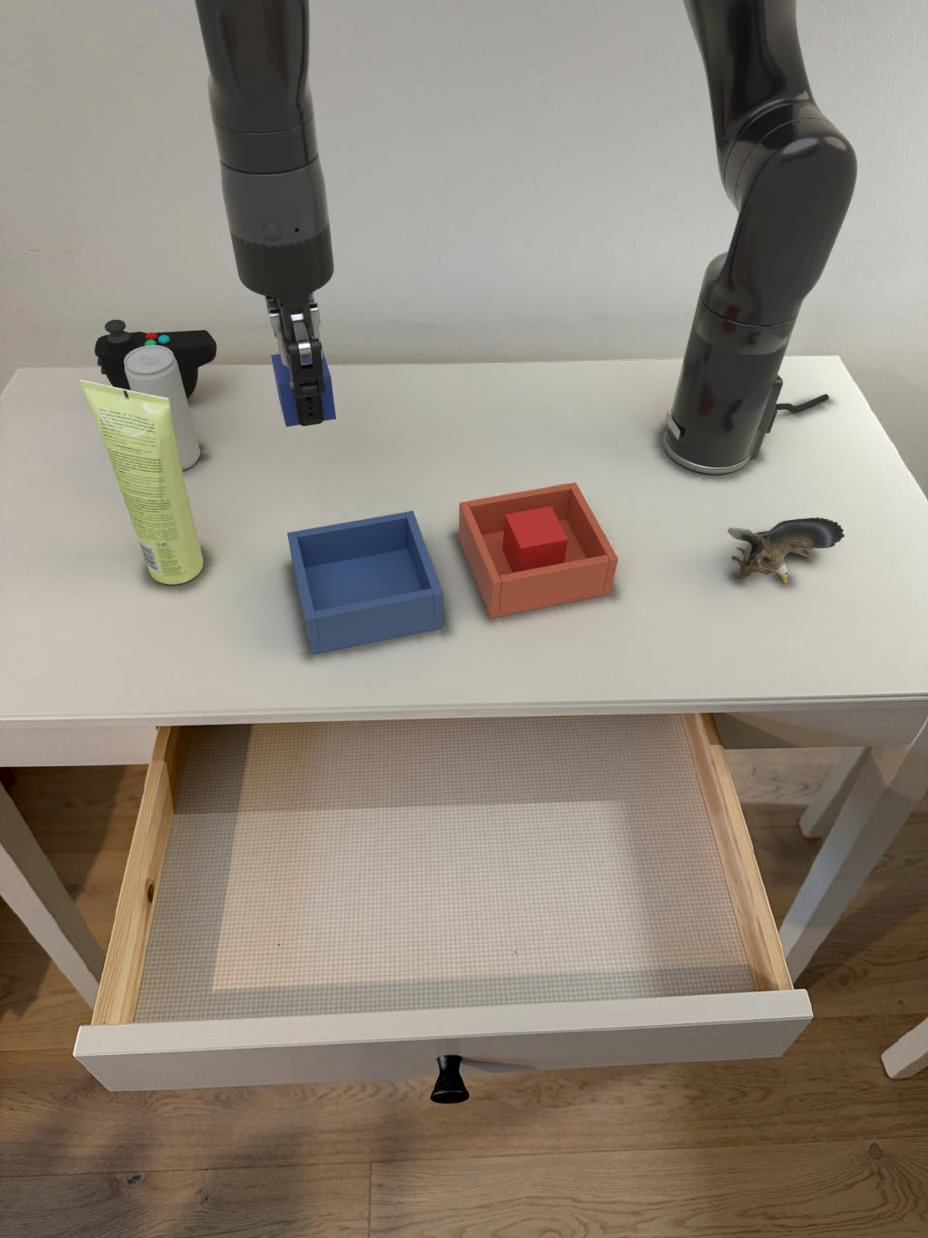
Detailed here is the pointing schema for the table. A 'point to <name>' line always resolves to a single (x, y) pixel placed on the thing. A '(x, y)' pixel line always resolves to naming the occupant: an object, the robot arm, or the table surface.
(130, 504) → the tube
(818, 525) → the eagle figurine
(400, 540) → the blue bin
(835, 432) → the table surface
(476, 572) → the red bin
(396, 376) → the table surface
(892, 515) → the table surface
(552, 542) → the red block
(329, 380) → the blue block
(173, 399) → the upturned grey cup
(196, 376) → the controller
